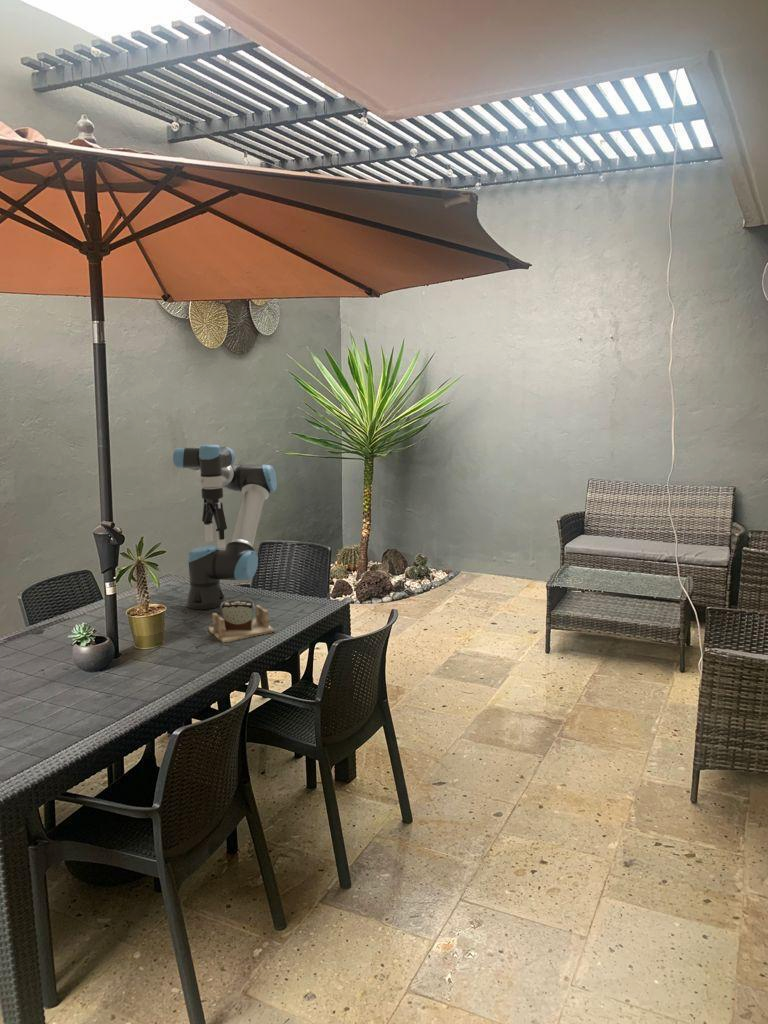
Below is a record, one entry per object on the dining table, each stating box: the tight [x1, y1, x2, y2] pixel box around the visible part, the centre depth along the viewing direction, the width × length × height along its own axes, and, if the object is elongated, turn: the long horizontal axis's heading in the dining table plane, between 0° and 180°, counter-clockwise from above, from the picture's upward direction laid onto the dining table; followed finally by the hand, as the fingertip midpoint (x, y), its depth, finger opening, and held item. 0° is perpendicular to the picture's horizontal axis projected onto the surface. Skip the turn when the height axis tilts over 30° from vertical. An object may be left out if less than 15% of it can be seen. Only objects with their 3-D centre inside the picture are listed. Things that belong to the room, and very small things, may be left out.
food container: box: [219, 598, 256, 631], centre depth 261 cm, size 12×6×10 cm, turn 86°
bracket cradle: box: [207, 604, 276, 644], centre depth 260 cm, size 16×19×7 cm
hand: (215, 544), depth 269 cm, fingers open, 13 cm apart
